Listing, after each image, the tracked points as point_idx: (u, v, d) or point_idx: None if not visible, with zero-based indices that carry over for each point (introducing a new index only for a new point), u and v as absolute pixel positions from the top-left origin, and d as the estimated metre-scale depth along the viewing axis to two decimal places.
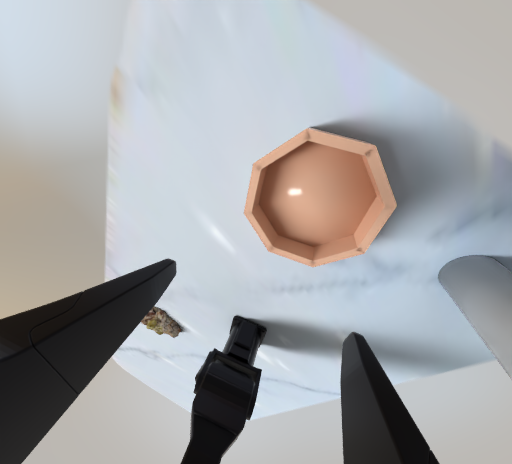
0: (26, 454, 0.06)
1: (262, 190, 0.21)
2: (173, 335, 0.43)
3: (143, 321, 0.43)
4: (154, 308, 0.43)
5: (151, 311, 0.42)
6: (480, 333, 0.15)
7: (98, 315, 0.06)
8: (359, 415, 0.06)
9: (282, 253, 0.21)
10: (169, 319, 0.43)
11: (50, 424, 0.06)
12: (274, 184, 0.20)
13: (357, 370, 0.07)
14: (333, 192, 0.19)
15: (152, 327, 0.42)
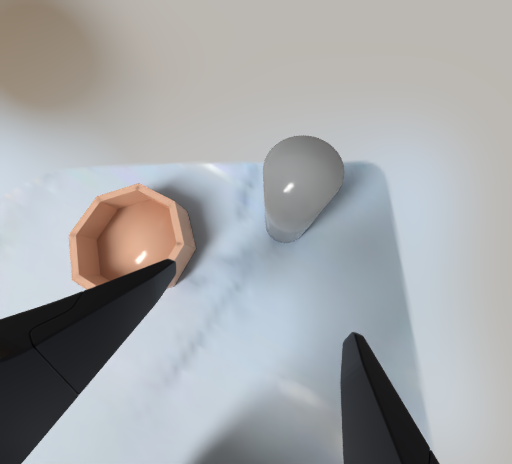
0: (26, 454, 0.06)
1: (99, 261, 0.23)
2: None
3: None
4: None
5: None
6: (276, 225, 0.17)
7: (98, 315, 0.06)
8: (359, 415, 0.06)
9: None
10: None
11: (50, 424, 0.06)
12: (107, 250, 0.24)
13: (357, 370, 0.07)
14: (152, 229, 0.24)
15: None
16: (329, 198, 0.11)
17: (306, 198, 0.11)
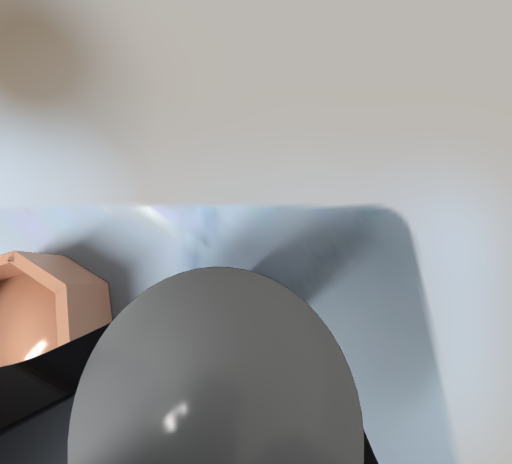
0: None
1: None
2: None
3: None
4: None
5: None
6: None
7: None
8: None
9: None
10: None
11: None
12: None
13: None
14: (46, 316, 0.15)
15: None
16: None
17: None
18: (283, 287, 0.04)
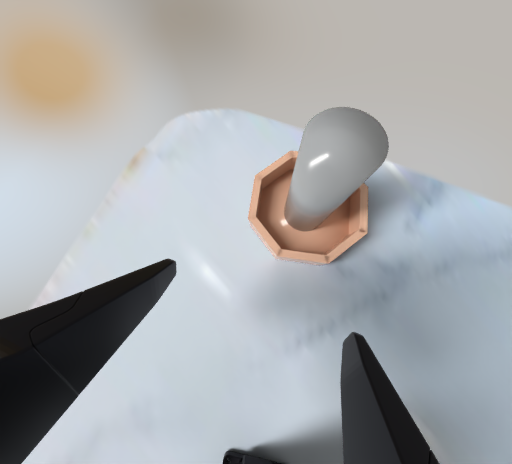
0: (26, 454, 0.06)
1: (259, 210, 0.24)
2: None
3: None
4: None
5: None
6: (303, 208, 0.16)
7: (98, 315, 0.06)
8: (359, 415, 0.06)
9: (293, 254, 0.19)
10: None
11: (50, 424, 0.06)
12: (269, 203, 0.24)
13: (357, 370, 0.07)
14: None
15: None
16: (374, 169, 0.11)
17: (350, 170, 0.11)
18: (362, 111, 0.12)
